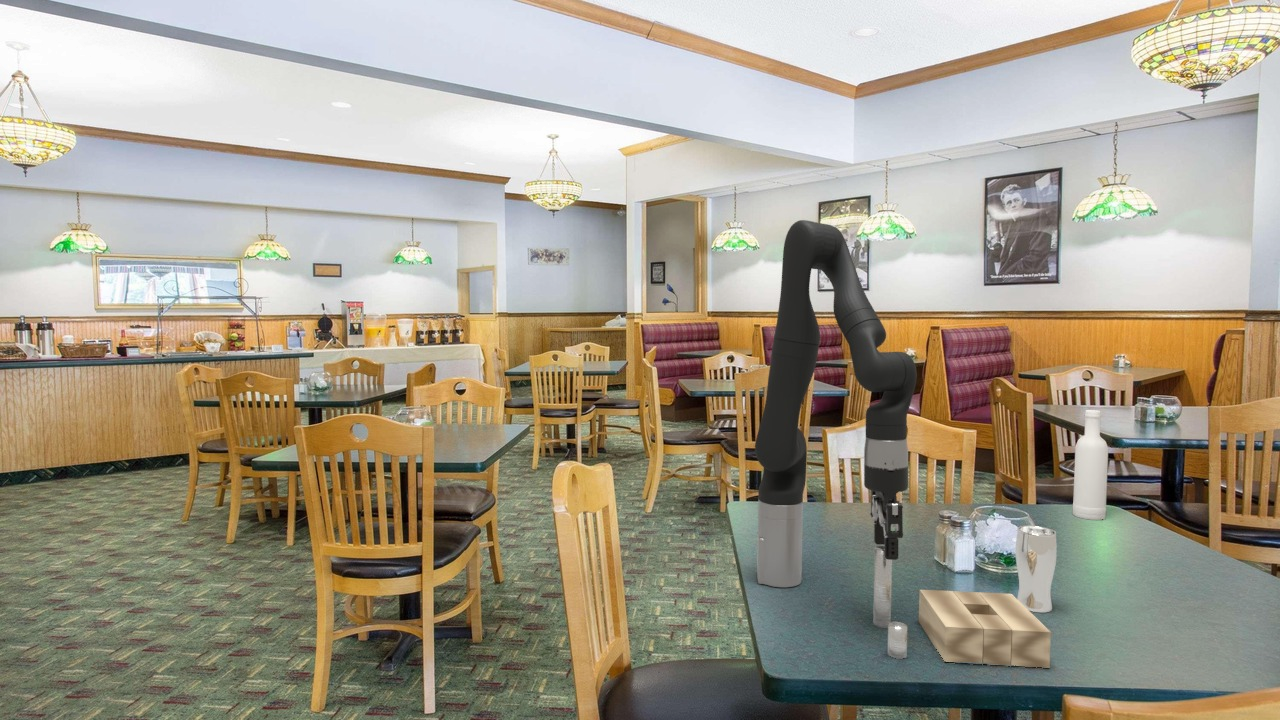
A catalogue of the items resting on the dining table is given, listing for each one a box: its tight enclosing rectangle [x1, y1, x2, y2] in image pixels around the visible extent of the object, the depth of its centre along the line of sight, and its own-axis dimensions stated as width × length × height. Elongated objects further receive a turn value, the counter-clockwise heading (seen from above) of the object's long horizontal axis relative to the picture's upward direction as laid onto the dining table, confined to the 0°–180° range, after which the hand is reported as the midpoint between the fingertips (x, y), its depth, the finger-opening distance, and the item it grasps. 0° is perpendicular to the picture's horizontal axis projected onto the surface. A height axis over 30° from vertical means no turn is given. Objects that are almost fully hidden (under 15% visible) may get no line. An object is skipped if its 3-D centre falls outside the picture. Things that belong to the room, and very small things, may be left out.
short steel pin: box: [887, 621, 908, 660], centre depth 120 cm, size 3×3×5 cm
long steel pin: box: [872, 545, 893, 629], centre depth 131 cm, size 3×3×14 cm
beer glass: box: [1015, 525, 1058, 614], centre depth 139 cm, size 7×7×15 cm
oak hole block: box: [918, 589, 1052, 669], centre depth 124 cm, size 16×16×6 cm
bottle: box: [1072, 409, 1109, 521], centre depth 202 cm, size 8×8×30 cm
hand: (885, 551), depth 131 cm, fingers open, 8 cm apart
